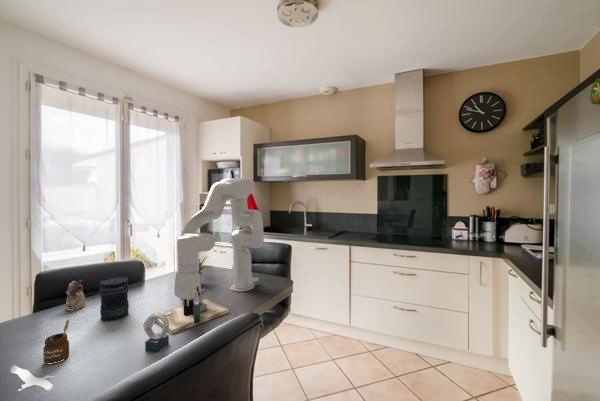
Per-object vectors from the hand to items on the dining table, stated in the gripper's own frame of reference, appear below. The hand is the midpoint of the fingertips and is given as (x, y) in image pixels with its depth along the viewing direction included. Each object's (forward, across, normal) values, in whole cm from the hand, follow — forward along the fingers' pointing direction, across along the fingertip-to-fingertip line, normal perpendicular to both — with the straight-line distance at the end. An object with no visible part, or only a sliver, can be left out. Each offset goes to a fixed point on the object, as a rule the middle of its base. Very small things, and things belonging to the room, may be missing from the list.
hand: (188, 314), depth 107 cm
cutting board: (+4, -5, +6) cm, 9 cm away
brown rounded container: (+4, -16, -35) cm, 39 cm away
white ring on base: (+4, +4, -16) cm, 17 cm away
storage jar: (+4, -33, -10) cm, 35 cm away
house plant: (+4, -37, +36) cm, 51 cm away
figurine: (+4, -59, -13) cm, 60 cm away
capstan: (+2, -2, +5) cm, 6 cm away
